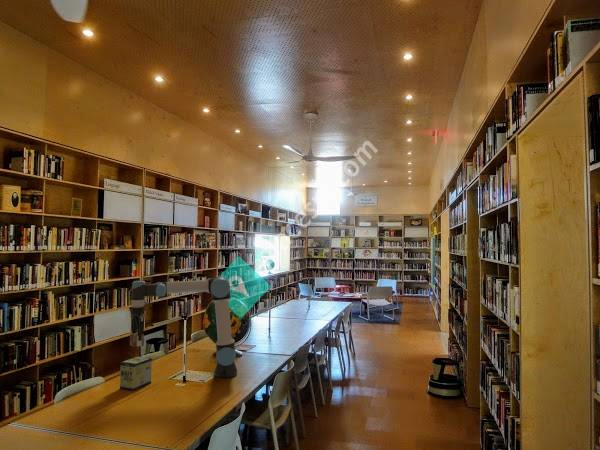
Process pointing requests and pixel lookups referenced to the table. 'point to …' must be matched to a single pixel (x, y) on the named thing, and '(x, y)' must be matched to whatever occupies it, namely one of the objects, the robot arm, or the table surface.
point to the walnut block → (135, 339)
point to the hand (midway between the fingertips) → (136, 344)
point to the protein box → (135, 373)
